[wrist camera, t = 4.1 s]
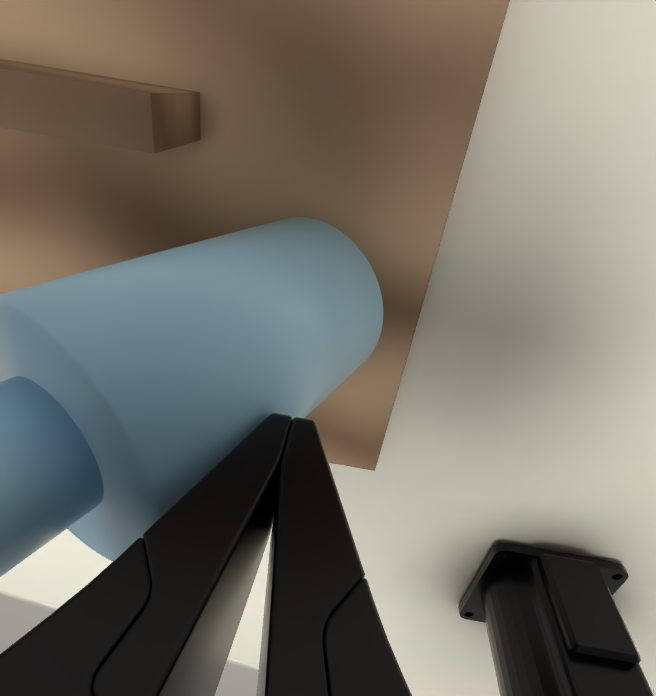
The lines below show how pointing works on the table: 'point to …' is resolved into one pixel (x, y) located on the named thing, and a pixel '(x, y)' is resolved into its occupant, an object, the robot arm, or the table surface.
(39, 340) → the bottle
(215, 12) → the rest
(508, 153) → the table surface
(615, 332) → the table surface
